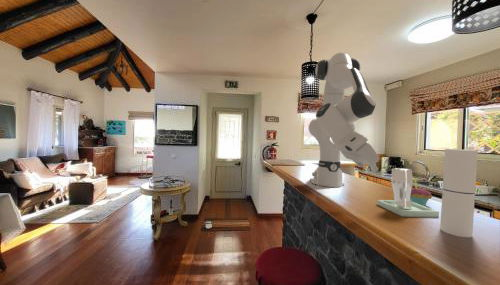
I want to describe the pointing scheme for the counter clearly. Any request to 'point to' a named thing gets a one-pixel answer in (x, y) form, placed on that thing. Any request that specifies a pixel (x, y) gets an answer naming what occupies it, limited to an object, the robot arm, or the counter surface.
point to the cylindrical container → (458, 192)
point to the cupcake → (420, 195)
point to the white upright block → (402, 187)
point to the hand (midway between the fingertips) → (368, 168)
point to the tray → (415, 211)
